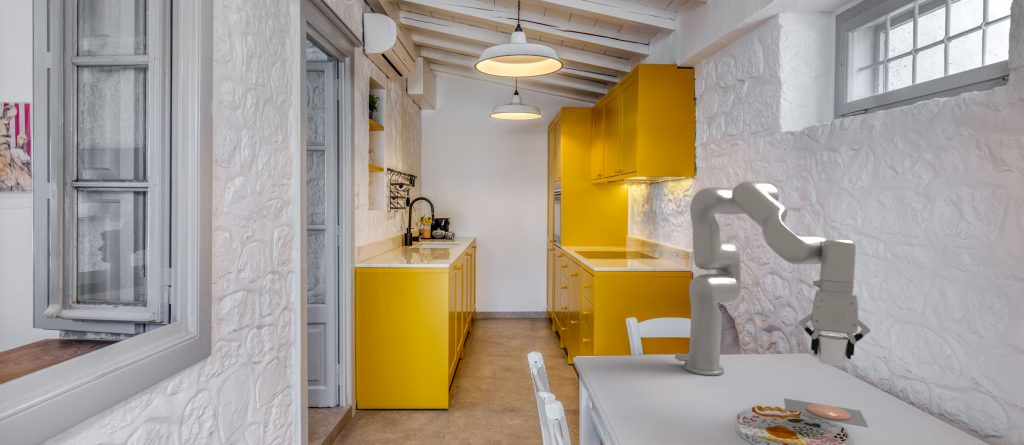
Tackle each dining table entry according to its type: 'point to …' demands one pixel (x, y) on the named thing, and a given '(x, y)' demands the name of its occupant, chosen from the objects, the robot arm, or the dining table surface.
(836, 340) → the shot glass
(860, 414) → the board
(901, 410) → the dining table surface
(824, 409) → the coaster
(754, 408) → the dining table surface
